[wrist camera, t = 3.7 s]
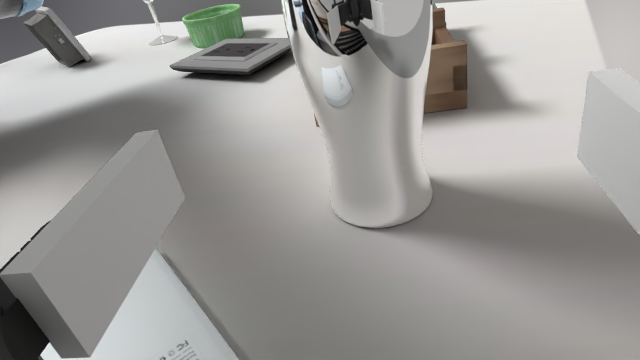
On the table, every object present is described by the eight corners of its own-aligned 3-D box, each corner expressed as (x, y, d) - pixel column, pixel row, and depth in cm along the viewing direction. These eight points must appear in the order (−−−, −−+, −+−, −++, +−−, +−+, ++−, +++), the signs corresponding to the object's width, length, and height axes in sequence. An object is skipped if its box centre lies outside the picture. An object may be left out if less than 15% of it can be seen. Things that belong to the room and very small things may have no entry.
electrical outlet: (305, 54, 57) (301, 35, 56) (251, 86, 50) (246, 65, 49) (231, 53, 64) (226, 36, 63) (175, 81, 57) (168, 63, 56)
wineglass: (139, 43, 79) (110, -31, 72) (176, 32, 81) (151, -40, 75) (148, 49, 74) (118, -30, 67) (187, 37, 76) (162, -40, 70)
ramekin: (179, 51, 69) (169, 22, 67) (213, 33, 76) (205, 6, 73) (227, 48, 65) (218, 17, 63) (258, 30, 72) (250, 1, 70)
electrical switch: (93, 60, 74) (61, 4, 69) (63, 74, 72) (27, 16, 66) (79, 54, 81) (48, 2, 75) (50, 67, 78) (17, 14, 73)
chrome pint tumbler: (309, 231, 26) (237, -65, 18) (340, 166, 31) (296, -82, 23) (435, 237, 23) (417, -100, 15) (444, 166, 29) (434, -109, 21)
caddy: (316, 126, 37) (305, 67, 34) (333, 45, 56) (327, 3, 54) (470, 107, 35) (470, 43, 32) (433, 30, 54) (432, -14, 52)
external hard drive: (160, 260, 27) (267, 405, 18) (11, 343, 23) (48, 579, 14) (150, 239, 26) (256, 379, 17) (-7, 321, 22) (20, 558, 13)
